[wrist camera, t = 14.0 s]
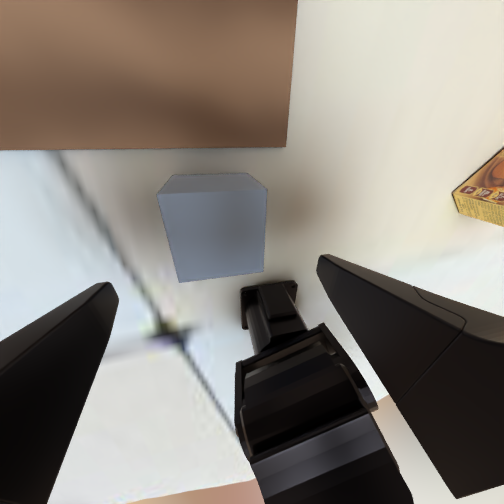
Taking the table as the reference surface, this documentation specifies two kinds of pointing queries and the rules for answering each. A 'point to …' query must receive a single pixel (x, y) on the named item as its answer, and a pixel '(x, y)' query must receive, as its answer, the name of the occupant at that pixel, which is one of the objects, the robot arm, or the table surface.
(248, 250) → the slate cube
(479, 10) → the table surface
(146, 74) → the board
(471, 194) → the candy box
